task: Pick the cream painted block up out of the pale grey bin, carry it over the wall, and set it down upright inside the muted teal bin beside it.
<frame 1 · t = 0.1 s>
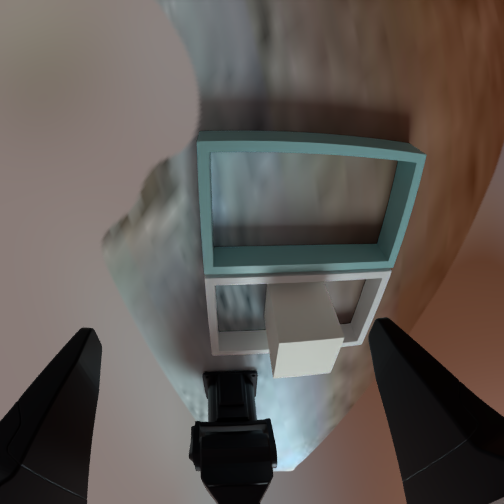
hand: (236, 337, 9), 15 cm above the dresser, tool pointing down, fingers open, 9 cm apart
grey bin: (292, 298, 29), on the dresser
teal bin: (307, 197, 23), on the dresser
cream block: (299, 326, 26), in the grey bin
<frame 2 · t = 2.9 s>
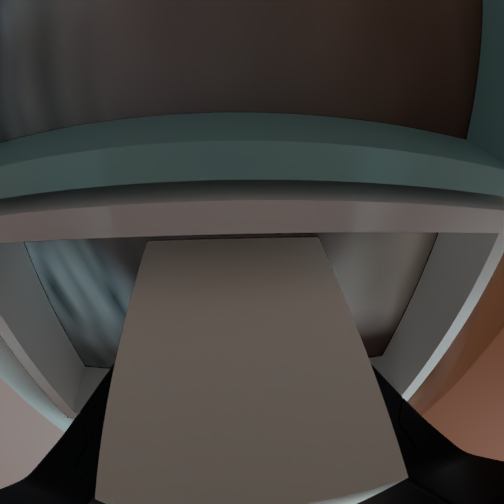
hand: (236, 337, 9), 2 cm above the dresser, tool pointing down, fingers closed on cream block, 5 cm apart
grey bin: (233, 301, 10), on the dresser
cream block: (240, 393, 8), in the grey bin, touching gripper
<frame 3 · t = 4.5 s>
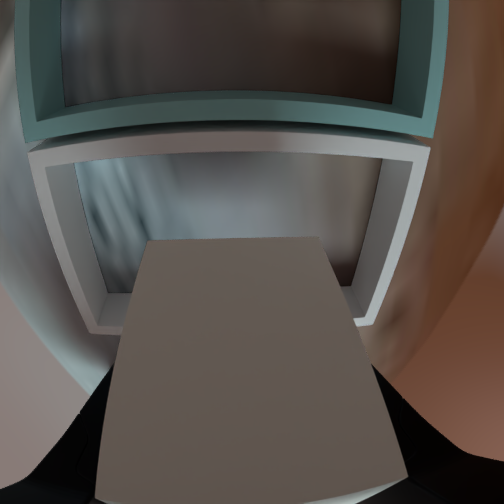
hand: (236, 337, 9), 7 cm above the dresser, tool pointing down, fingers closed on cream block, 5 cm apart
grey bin: (228, 223, 15), on the dresser
cream block: (240, 393, 8), point 9 cm above the dresser, touching gripper
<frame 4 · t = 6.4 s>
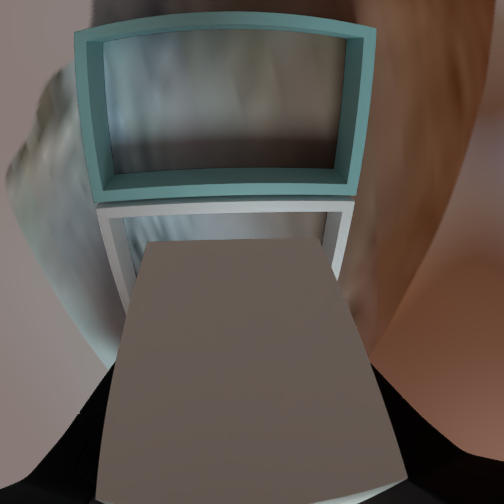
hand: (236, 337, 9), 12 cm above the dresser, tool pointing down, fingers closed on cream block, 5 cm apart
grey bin: (225, 249, 22), on the dresser
teal bin: (223, 99, 16), on the dresser
cream block: (240, 394, 8), point 14 cm above the dresser, touching gripper
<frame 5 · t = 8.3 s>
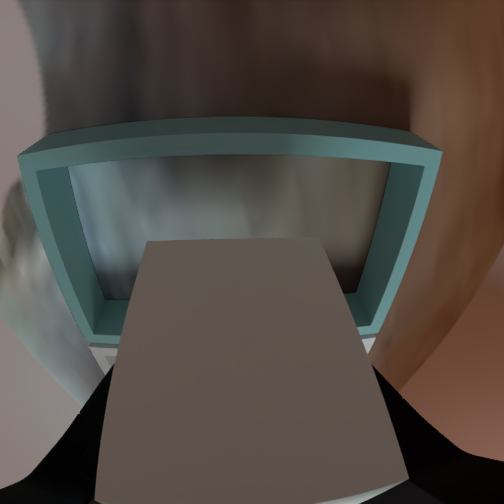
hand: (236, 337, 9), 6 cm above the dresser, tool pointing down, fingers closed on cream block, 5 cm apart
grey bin: (232, 363, 20), on the dresser
teal bin: (230, 229, 14), on the dresser
cream block: (240, 394, 8), point 8 cm above the dresser, touching gripper
when the fingers open (3 cm above the dresser, at t = 9.8 s): cream block drops 2 cm, resting in teal bin.
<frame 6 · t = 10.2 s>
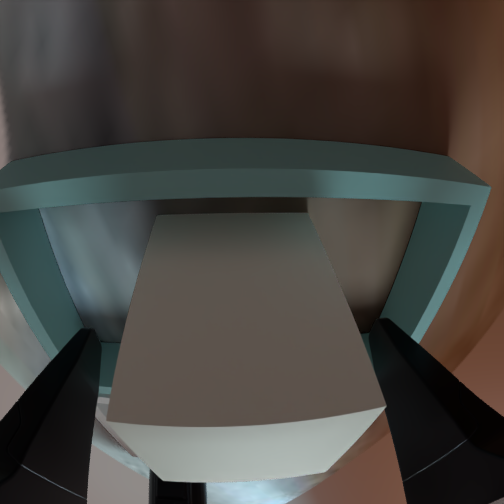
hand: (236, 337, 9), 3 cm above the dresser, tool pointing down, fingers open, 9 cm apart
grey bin: (234, 401, 18), on the dresser
teal bin: (232, 272, 12), on the dresser
cream block: (237, 348, 9), in the teal bin
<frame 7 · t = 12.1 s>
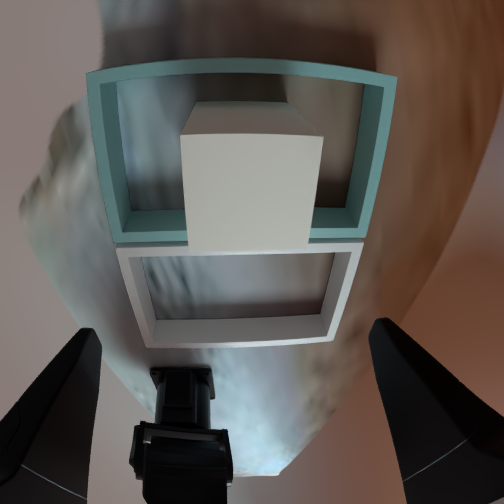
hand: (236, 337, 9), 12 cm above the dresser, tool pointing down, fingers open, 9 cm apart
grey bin: (239, 280, 24), on the dresser
teal bin: (240, 142, 17), on the dresser
cream block: (244, 164, 15), in the teal bin
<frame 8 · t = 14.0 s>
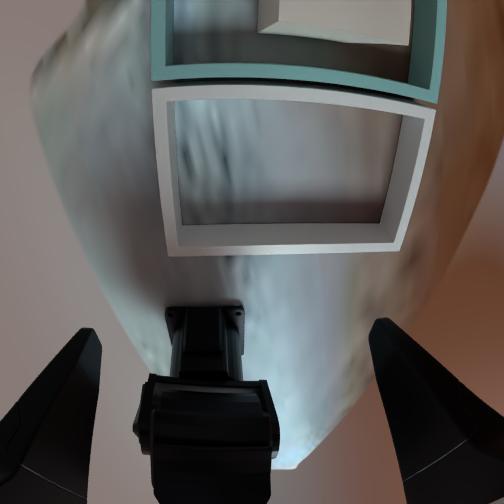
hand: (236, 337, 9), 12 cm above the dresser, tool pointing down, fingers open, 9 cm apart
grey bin: (293, 163, 19), on the dresser
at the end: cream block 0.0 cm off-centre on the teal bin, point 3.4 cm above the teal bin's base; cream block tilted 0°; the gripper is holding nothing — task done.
